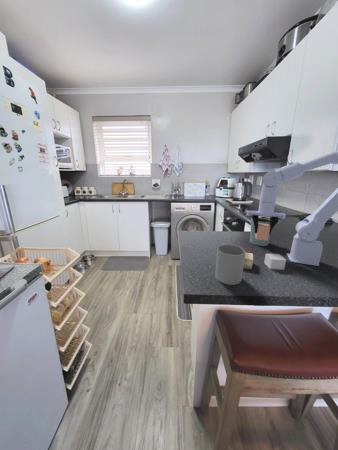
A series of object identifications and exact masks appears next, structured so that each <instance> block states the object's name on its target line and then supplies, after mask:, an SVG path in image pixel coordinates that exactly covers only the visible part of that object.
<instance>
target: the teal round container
mask: <svg viewBox="0 0 338 450" xmlns="http://www.w3.org/2000/svg"><path fill="white" fill-rule="evenodd" d="M258 223H262V224H269V223H270V218H268V217H259V221H258ZM249 233H250V235H249V243H250V244H252V245H255V246H257V247H268V246H269V243H270V240H271V239H270V238H271V234H272V233H271V234H270V235H269V237H268V241H266V240H259V239H256V237H255V234H256V233H255V227H254V222H253V218H252V217H251V218H250V232H249Z"/></svg>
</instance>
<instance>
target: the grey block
mask: <svg viewBox="0 0 338 450" xmlns="http://www.w3.org/2000/svg"><path fill="white" fill-rule="evenodd" d="M263 263H264V264H265V265H266V266H267V268H268V269H270V270H280V271H281V270H282V271H283V270H284V271H285V267H286V263H287V259H286V258H284V256H282V255H281V254H280V253H265V255H264V261H263Z"/></svg>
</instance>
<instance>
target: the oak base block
mask: <svg viewBox="0 0 338 450" xmlns="http://www.w3.org/2000/svg"><path fill="white" fill-rule="evenodd" d="M253 262H254V254H253V253H250V252H246V251H245V259H244V266H243V269H246V270H253V265H254V264H253Z"/></svg>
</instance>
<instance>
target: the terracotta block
mask: <svg viewBox="0 0 338 450" xmlns="http://www.w3.org/2000/svg"><path fill="white" fill-rule="evenodd" d="M269 232H270V225H269V224H262V223H258V227H257V233H256V234H255V237H256V239H259V240H266V241H268V237H269Z"/></svg>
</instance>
